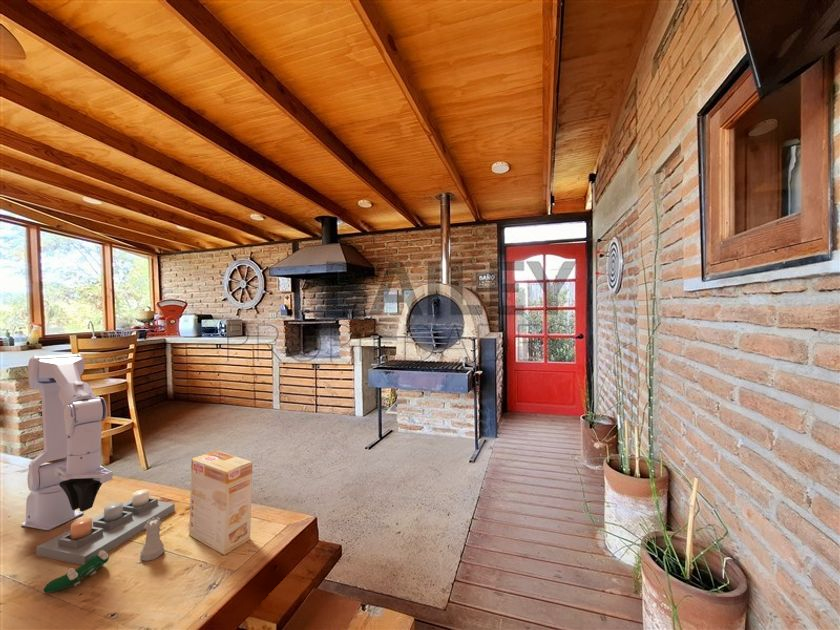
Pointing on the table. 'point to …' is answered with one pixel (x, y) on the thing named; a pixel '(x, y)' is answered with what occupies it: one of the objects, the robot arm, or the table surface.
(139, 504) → the button ivory
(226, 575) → the table surface
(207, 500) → the coffeecake box
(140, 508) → the panel
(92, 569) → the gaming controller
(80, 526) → the button terracotta
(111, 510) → the button light grey
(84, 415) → the robot arm
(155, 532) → the rook chess piece
